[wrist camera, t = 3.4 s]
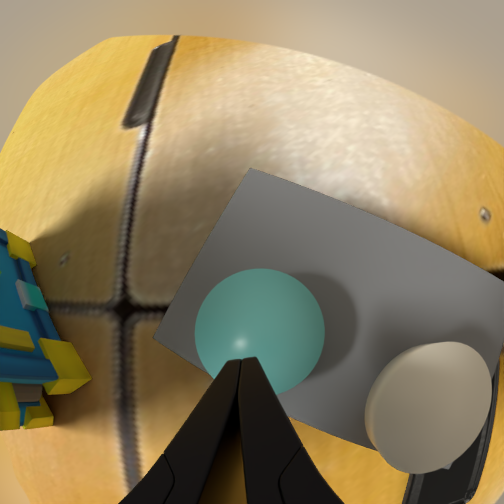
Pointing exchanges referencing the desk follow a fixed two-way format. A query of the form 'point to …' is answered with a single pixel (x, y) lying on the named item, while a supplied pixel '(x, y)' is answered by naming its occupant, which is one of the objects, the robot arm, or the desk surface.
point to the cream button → (428, 406)
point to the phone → (455, 469)
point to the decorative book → (29, 344)
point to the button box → (342, 293)
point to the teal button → (261, 326)
